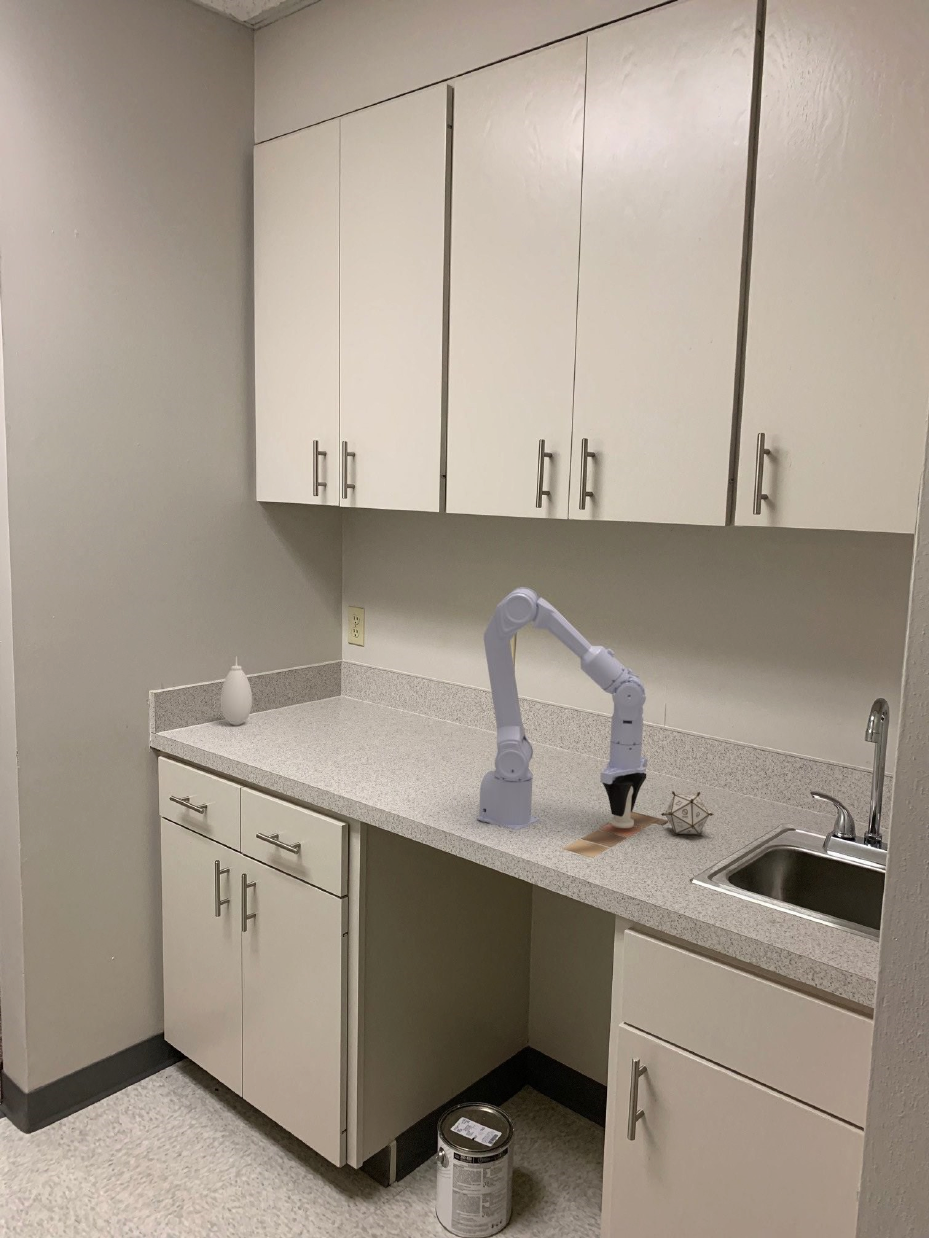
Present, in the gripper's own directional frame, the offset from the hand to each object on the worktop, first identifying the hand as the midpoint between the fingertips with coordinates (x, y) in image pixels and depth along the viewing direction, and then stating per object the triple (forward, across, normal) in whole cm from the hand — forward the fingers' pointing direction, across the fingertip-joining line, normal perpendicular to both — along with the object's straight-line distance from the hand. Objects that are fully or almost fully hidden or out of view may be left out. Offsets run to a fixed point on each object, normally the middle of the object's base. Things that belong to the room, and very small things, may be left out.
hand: (622, 812), depth 175 cm
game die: (+4, +6, -10) cm, 12 cm away
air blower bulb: (+4, +2, +113) cm, 113 cm away
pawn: (+2, 0, 0) cm, 2 cm away
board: (+3, -3, 0) cm, 5 cm away
